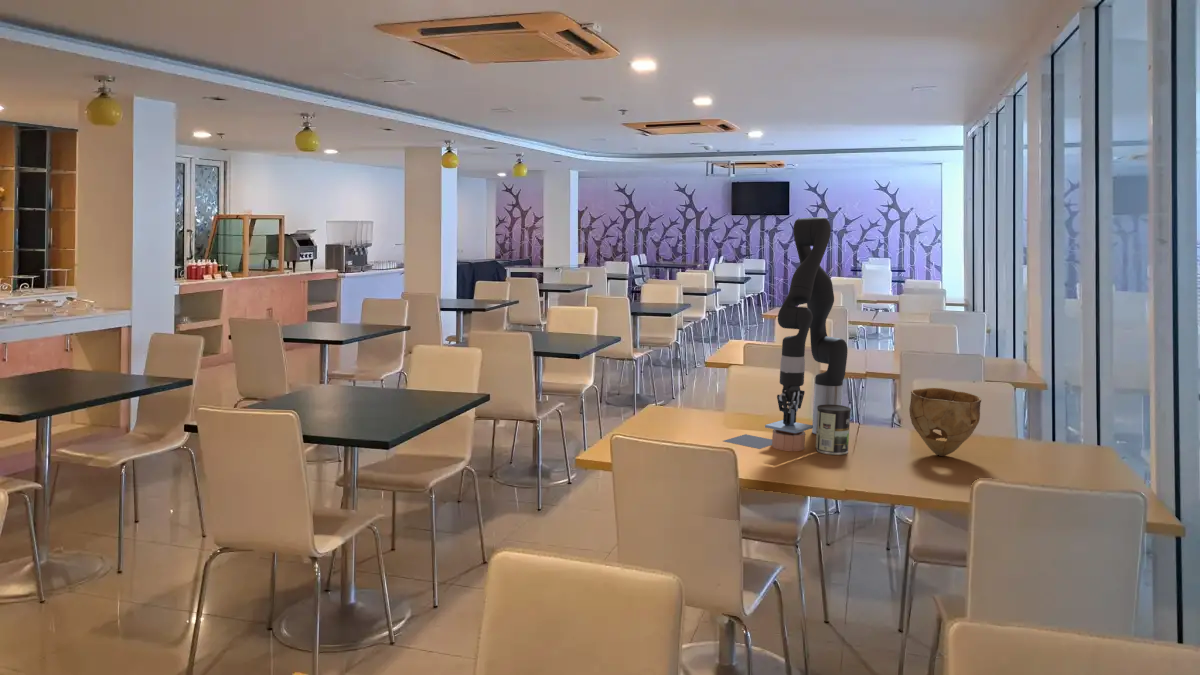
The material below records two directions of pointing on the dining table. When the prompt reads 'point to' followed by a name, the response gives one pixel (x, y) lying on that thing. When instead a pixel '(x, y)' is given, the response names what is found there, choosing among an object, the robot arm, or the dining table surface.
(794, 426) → the lid
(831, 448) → the coffee can
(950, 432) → the bowl
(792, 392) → the robot arm
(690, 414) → the dining table surface
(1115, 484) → the dining table surface
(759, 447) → the mat
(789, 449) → the faceted pink cup
